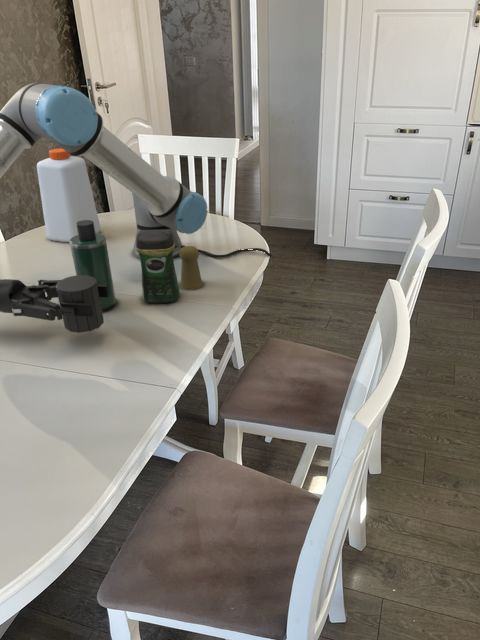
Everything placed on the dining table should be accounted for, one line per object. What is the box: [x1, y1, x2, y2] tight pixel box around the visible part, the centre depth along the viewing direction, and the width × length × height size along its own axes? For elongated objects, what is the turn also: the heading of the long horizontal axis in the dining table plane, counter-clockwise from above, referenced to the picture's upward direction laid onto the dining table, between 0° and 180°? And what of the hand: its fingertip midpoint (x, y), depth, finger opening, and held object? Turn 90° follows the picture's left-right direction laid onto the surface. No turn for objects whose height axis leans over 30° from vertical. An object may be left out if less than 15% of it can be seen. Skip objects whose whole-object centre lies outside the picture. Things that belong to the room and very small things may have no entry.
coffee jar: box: [135, 229, 181, 304], centre depth 140 cm, size 10×8×19 cm
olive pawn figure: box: [178, 245, 203, 291], centre depth 149 cm, size 6×6×11 cm
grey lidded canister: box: [56, 275, 105, 334], centre depth 121 cm, size 8×8×10 cm
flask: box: [69, 220, 117, 313], centre depth 135 cm, size 8×8×22 cm
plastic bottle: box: [36, 148, 102, 244], centre depth 179 cm, size 15×15×28 cm
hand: (99, 300), depth 120 cm, fingers closed on grey lidded canister, 9 cm apart
